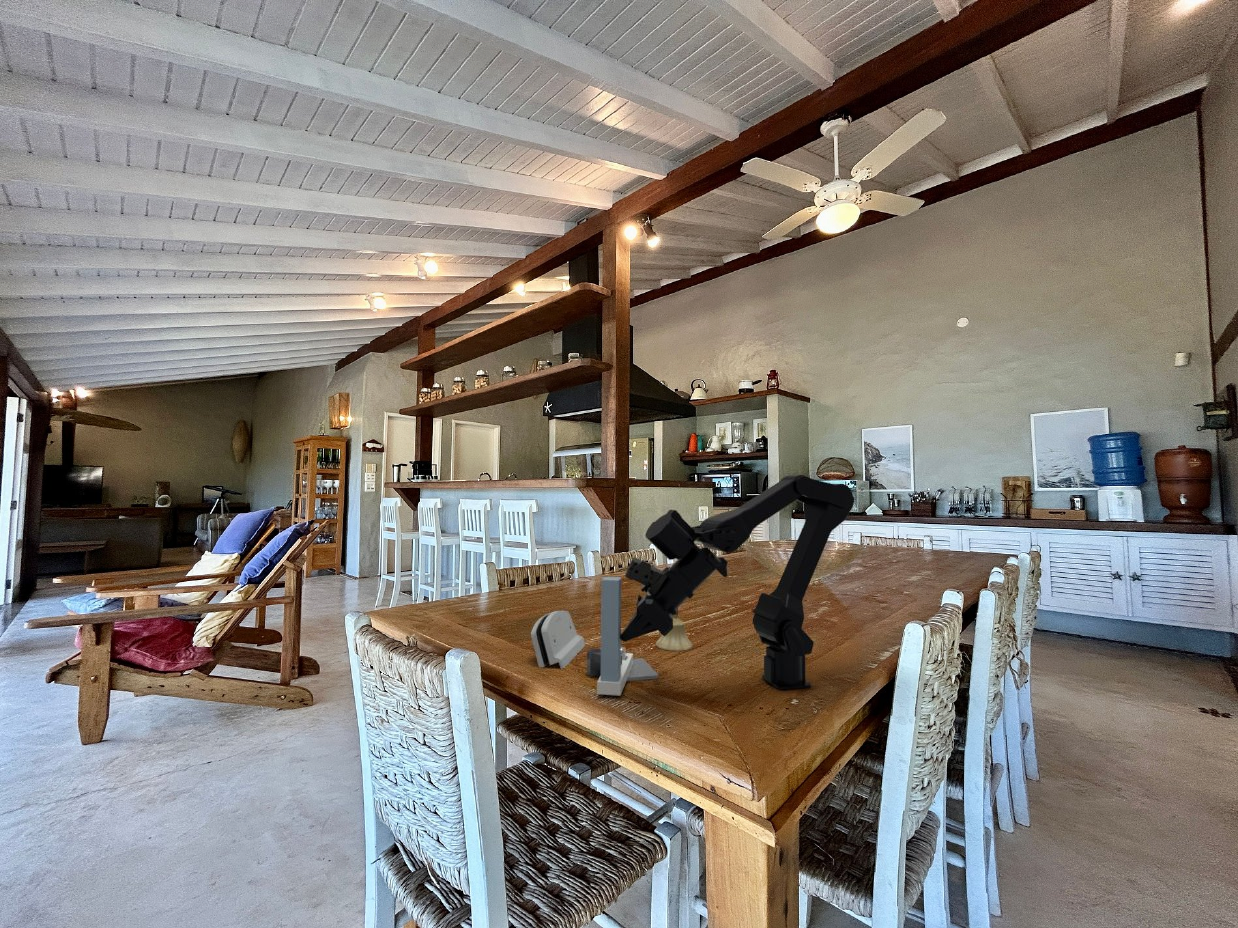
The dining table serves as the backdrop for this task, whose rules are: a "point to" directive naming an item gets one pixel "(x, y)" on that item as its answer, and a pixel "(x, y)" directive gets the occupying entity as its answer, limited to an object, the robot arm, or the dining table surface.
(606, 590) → the link
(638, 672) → the pintle block
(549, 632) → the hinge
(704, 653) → the dining table surface
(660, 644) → the hand bell
